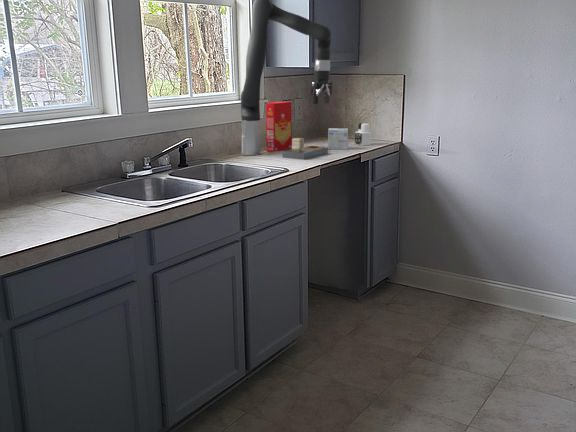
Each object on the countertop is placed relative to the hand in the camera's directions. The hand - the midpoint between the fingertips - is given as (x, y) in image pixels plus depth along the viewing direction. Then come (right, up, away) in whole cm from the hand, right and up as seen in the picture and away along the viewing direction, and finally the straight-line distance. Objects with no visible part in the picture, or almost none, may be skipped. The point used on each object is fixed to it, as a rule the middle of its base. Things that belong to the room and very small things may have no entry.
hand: (321, 103), depth 289 cm
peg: (-12, -27, -7) cm, 30 cm away
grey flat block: (-8, -27, -1) cm, 28 cm away
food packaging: (-21, -21, +21) cm, 36 cm away
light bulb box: (+11, -19, +27) cm, 35 cm away
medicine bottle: (+26, -15, +41) cm, 51 cm away
